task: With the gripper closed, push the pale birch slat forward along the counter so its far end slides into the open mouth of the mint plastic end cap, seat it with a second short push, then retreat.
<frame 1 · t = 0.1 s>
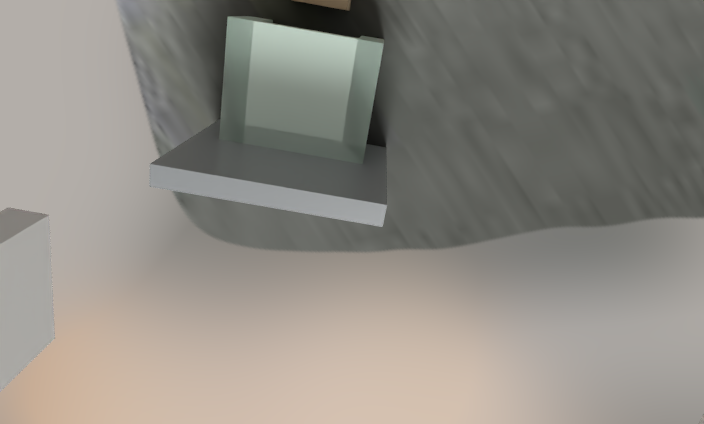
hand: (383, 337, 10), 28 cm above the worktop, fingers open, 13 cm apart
end cap: (310, 82, 36), on the worktop
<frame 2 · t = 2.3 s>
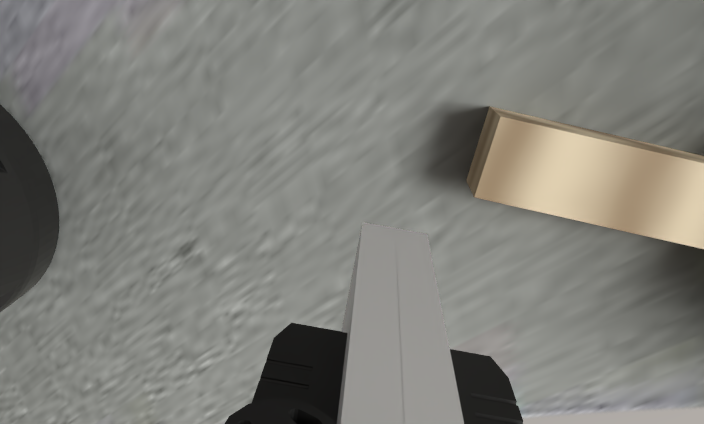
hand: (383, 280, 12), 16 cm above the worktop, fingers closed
slat: (605, 172, 27), on the worktop
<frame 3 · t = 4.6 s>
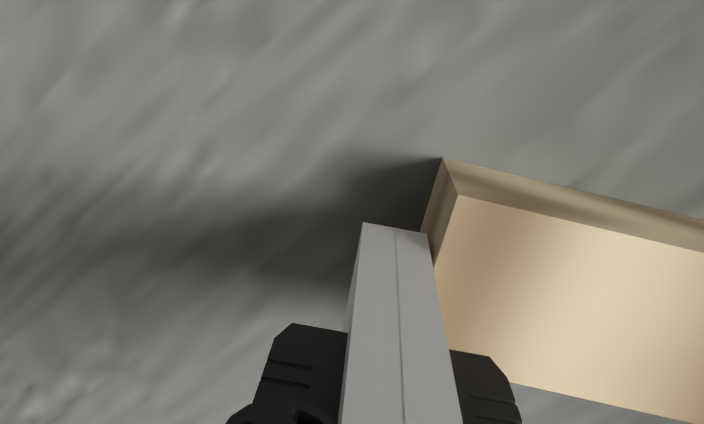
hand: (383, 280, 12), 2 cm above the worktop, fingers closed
slat: (672, 285, 14), on the worktop, touching gripper
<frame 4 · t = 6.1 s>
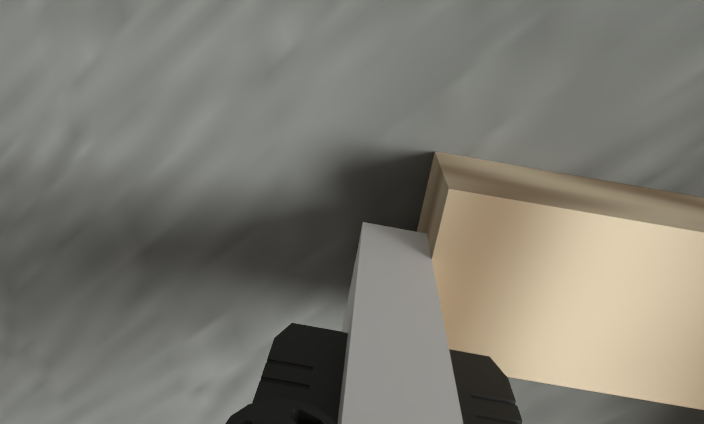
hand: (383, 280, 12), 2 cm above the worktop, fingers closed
slat: (683, 269, 13), on the worktop
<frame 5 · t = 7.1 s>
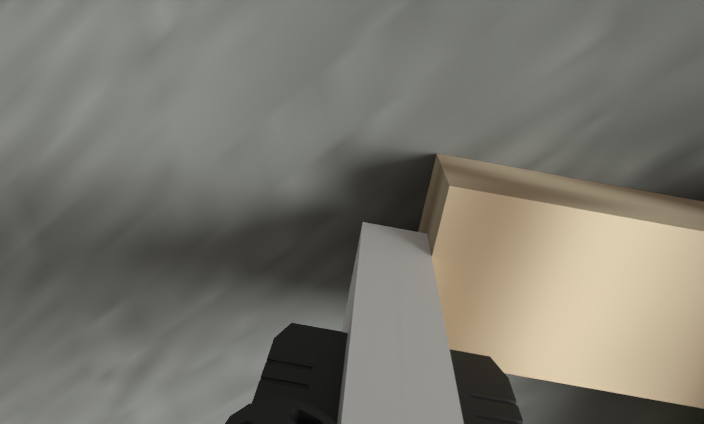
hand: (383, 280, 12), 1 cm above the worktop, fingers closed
slat: (680, 270, 14), on the worktop
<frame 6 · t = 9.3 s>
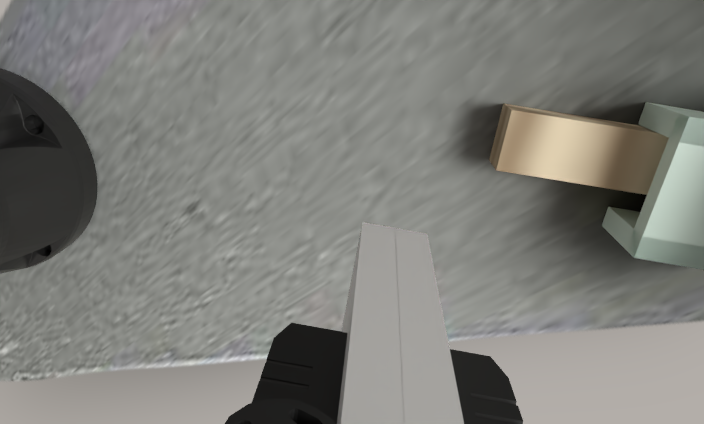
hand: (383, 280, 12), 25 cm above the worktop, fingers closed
end cap: (674, 175, 36), on the worktop
slat: (594, 147, 36), on the worktop
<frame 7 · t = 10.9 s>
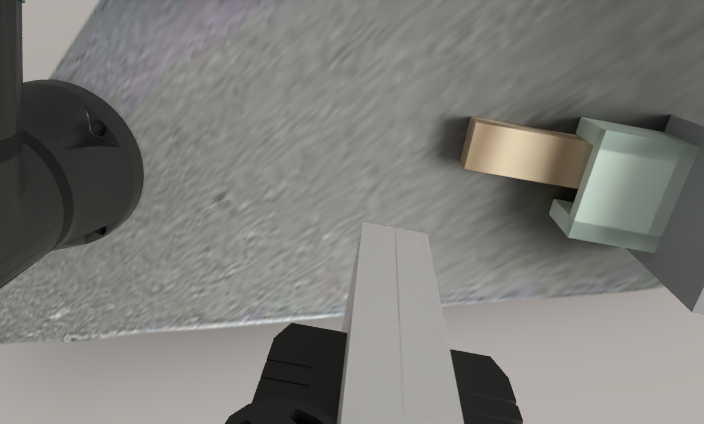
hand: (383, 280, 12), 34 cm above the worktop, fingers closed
end cap: (604, 174, 46), on the worktop
slat: (543, 151, 46), on the worktop
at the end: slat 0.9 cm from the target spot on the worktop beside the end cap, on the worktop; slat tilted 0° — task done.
